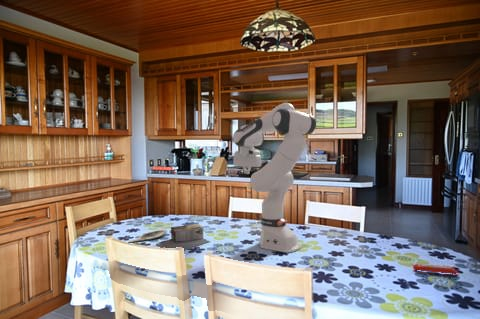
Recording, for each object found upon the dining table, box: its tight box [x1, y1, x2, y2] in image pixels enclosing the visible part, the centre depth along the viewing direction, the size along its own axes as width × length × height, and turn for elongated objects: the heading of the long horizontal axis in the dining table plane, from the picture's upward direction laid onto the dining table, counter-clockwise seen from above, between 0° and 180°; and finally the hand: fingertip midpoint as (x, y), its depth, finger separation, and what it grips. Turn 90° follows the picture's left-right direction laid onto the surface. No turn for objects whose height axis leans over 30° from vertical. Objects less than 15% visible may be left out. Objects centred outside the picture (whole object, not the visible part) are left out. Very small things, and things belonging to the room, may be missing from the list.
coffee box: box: [170, 223, 204, 242], centre depth 177 cm, size 9×6×16 cm
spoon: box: [128, 229, 168, 244], centre depth 174 cm, size 35×11×2 cm, turn 139°
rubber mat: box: [155, 238, 211, 251], centre depth 169 cm, size 18×22×1 cm
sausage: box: [412, 263, 459, 274], centre depth 130 cm, size 16×4×3 cm, turn 73°
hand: (246, 173), depth 197 cm, fingers closed
